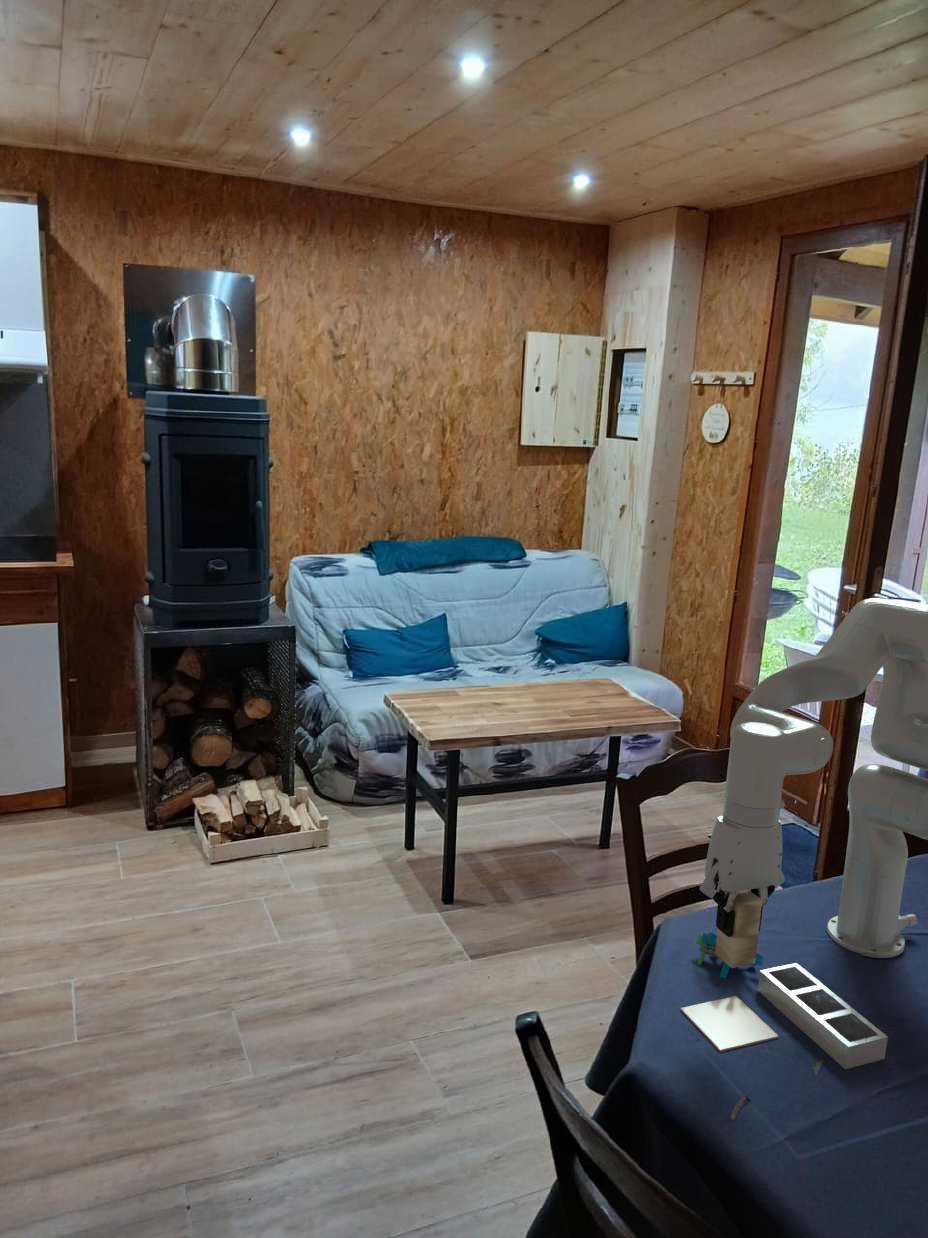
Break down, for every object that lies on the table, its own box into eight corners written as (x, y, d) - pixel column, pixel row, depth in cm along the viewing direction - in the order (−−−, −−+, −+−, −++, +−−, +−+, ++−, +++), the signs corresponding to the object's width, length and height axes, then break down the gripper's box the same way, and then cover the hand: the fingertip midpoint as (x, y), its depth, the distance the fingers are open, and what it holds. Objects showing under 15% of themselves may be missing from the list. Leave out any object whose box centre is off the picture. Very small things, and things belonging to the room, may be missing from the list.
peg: (737, 949, 139) (744, 886, 137) (754, 963, 135) (762, 900, 133) (715, 953, 137) (721, 890, 135) (731, 968, 134) (738, 903, 132)
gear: (773, 964, 152) (751, 939, 147) (762, 999, 150) (739, 975, 144) (712, 945, 160) (689, 921, 154) (700, 978, 158) (676, 955, 152)
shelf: (793, 985, 150) (796, 963, 149) (884, 1062, 132) (887, 1037, 132) (757, 993, 147) (760, 970, 146) (844, 1072, 130) (848, 1047, 129)
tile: (735, 1000, 145) (736, 996, 145) (777, 1040, 136) (778, 1036, 136) (680, 1013, 142) (680, 1008, 142) (720, 1055, 133) (720, 1050, 132)
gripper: (782, 794, 138) (768, 908, 142) (685, 806, 132) (673, 925, 136) (817, 815, 131) (802, 934, 135) (717, 828, 125) (703, 952, 129)
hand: (737, 928), depth 135 cm, fingers closed on peg, 4 cm apart
